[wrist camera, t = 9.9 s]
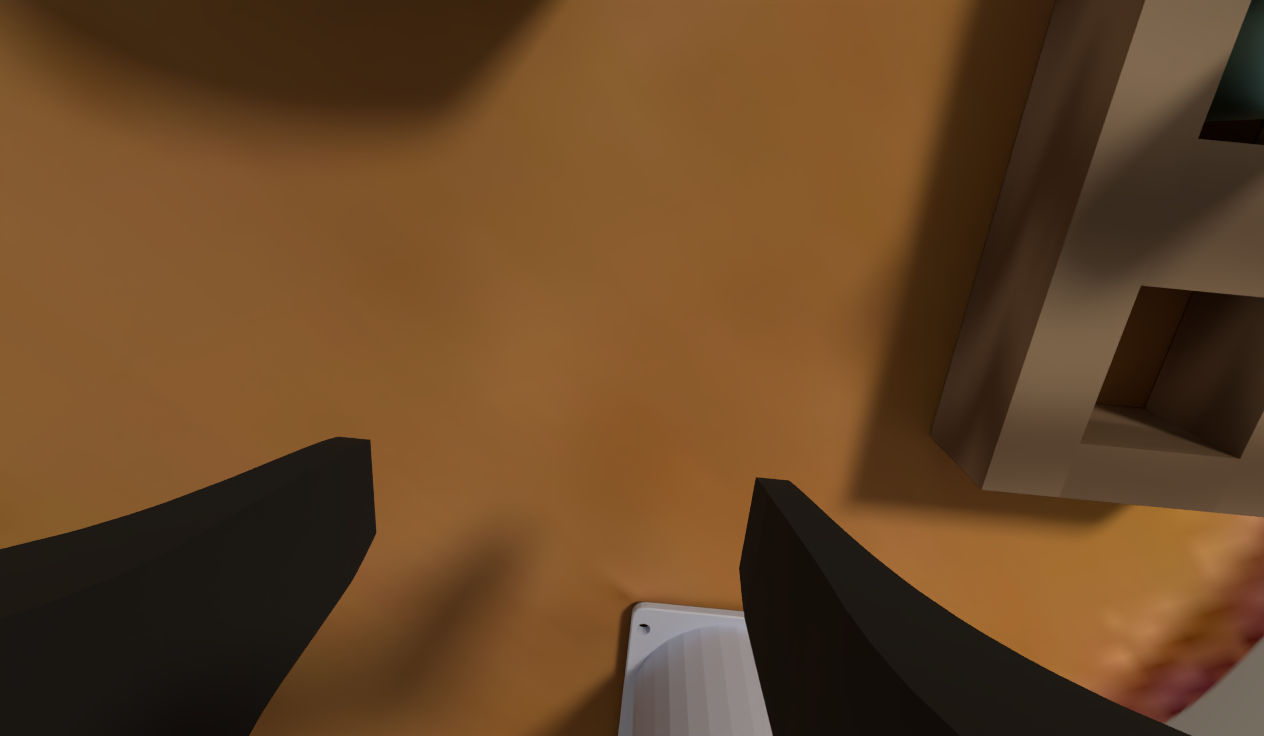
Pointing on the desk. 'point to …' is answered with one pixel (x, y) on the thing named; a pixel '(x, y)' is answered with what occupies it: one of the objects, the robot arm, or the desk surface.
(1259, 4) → the peg
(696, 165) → the desk surface
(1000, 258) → the hole block
